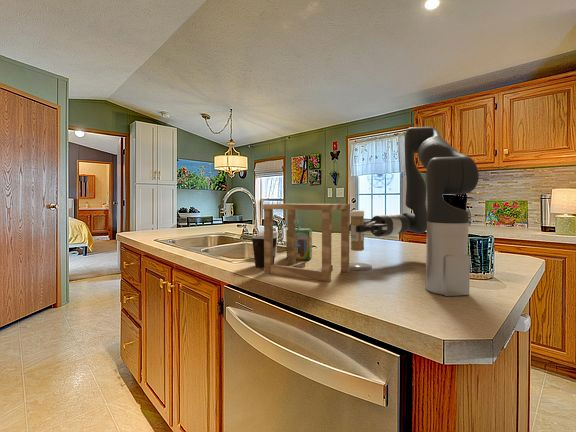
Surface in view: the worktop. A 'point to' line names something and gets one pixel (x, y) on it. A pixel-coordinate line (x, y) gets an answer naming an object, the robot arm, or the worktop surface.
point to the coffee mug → (261, 250)
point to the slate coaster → (359, 266)
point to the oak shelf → (294, 269)
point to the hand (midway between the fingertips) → (351, 228)
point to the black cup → (275, 233)
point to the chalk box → (302, 243)
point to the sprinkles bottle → (356, 237)
